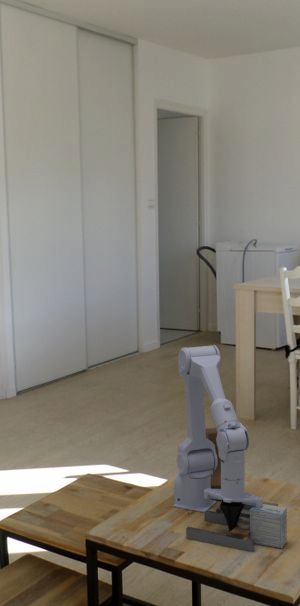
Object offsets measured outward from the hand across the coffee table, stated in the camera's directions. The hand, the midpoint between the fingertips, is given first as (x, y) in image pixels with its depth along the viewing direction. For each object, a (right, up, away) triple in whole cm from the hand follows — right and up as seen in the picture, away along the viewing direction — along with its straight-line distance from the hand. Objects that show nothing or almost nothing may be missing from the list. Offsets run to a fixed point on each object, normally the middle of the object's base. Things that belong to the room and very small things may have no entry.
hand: (232, 530), depth 183 cm
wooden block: (-2, +2, +27) cm, 27 cm away
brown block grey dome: (+3, -2, -1) cm, 3 cm away
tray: (+5, 0, +11) cm, 12 cm away
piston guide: (-1, -1, +1) cm, 2 cm away
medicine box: (+8, -2, -4) cm, 9 cm away
